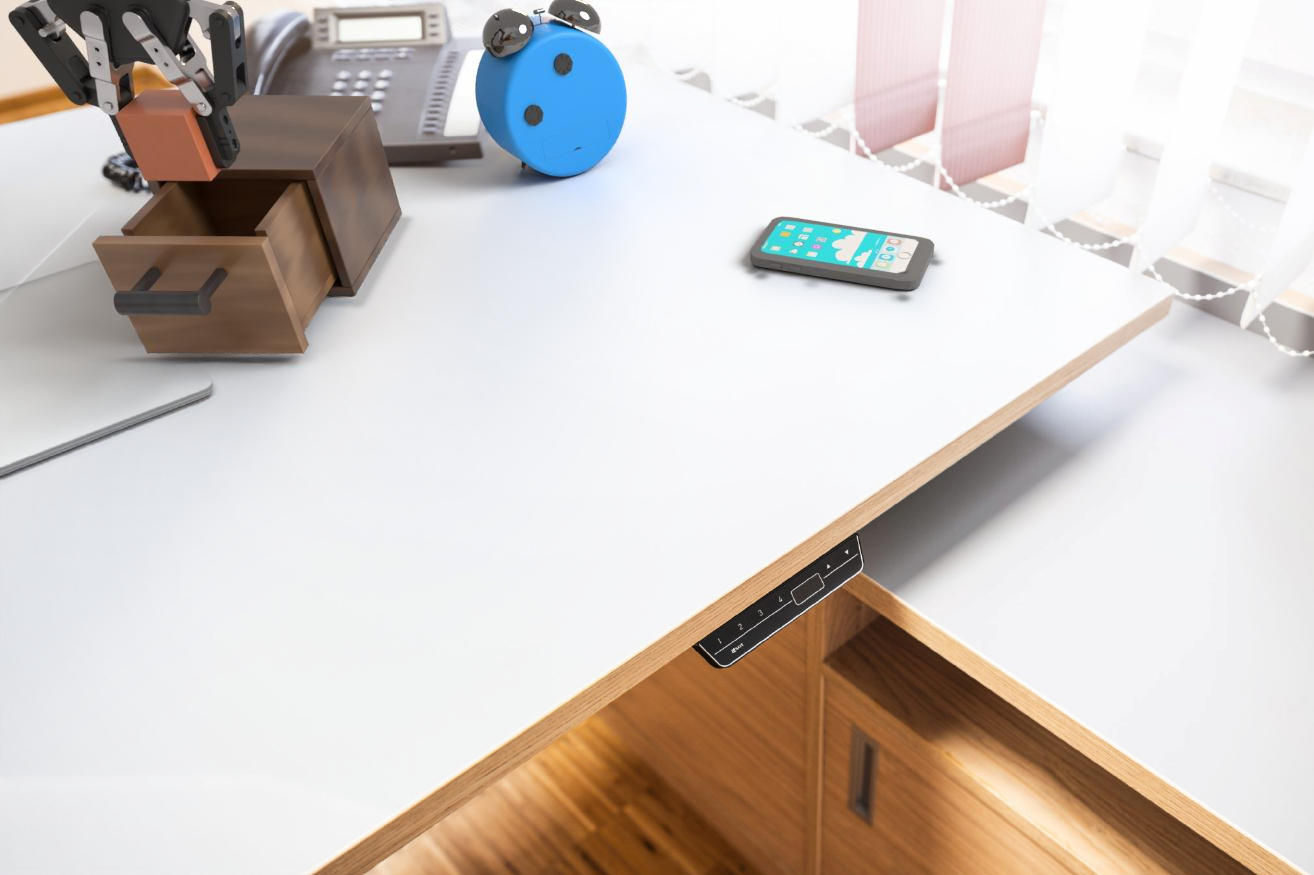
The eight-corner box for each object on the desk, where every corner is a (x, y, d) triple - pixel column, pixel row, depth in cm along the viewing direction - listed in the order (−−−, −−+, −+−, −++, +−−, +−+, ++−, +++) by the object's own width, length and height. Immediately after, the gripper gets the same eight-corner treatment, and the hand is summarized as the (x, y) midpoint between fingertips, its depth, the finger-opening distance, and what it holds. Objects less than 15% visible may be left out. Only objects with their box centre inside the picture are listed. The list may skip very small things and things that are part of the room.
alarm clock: (603, 140, 108) (583, -19, 98) (637, 160, 105) (619, -2, 95) (489, 174, 102) (454, 8, 92) (521, 196, 99) (488, 27, 88)
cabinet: (355, 296, 85) (313, 169, 78) (197, 295, 85) (140, 168, 77) (402, 213, 96) (369, 95, 88) (262, 212, 95) (217, 94, 88)
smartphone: (917, 282, 87) (745, 255, 89) (916, 293, 87) (745, 265, 90) (937, 236, 93) (776, 211, 95) (936, 246, 93) (776, 222, 96)
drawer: (280, 393, 74) (233, 281, 68) (116, 393, 74) (54, 281, 67) (357, 264, 87) (324, 161, 81) (218, 263, 87) (174, 159, 81)
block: (144, 181, 71) (114, 114, 68) (172, 153, 75) (144, 88, 71) (211, 181, 72) (184, 115, 68) (236, 154, 75) (211, 89, 72)
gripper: (220, -134, 64) (311, 142, 76) (-20, -138, 63) (110, 141, 75) (168, -104, 59) (275, 188, 70) (-95, -109, 58) (57, 187, 70)
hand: (189, 162), depth 73 cm, fingers closed on block, 4 cm apart
